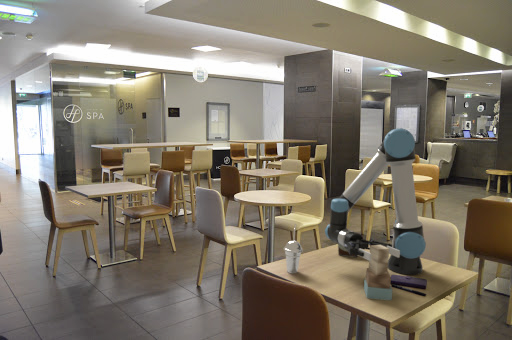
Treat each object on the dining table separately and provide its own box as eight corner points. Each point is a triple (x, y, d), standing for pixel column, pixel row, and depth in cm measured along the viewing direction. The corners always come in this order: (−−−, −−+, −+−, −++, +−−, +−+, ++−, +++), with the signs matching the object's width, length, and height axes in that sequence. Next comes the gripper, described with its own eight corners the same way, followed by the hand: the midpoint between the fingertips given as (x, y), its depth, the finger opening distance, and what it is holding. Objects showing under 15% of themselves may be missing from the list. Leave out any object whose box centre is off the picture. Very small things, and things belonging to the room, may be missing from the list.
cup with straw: (278, 271, 175) (280, 226, 173) (289, 266, 182) (291, 223, 180) (295, 276, 170) (297, 230, 168) (306, 270, 177) (308, 226, 175)
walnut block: (386, 280, 158) (387, 269, 157) (389, 288, 150) (390, 277, 150) (365, 279, 159) (366, 268, 159) (368, 286, 151) (368, 275, 151)
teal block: (387, 291, 159) (387, 280, 158) (391, 301, 150) (392, 289, 149) (363, 289, 160) (364, 278, 160) (366, 298, 151) (367, 287, 151)
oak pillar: (378, 269, 158) (380, 244, 157) (387, 273, 153) (389, 248, 152) (368, 270, 156) (370, 245, 155) (376, 275, 151) (378, 249, 150)
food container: (360, 253, 205) (361, 234, 204) (360, 257, 199) (362, 237, 198) (335, 251, 208) (337, 232, 207) (335, 254, 202) (336, 235, 201)
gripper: (373, 246, 175) (409, 262, 156) (325, 251, 166) (356, 268, 146) (375, 229, 174) (411, 243, 155) (326, 233, 165) (358, 248, 145)
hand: (384, 255), depth 150 cm, fingers open, 13 cm apart
